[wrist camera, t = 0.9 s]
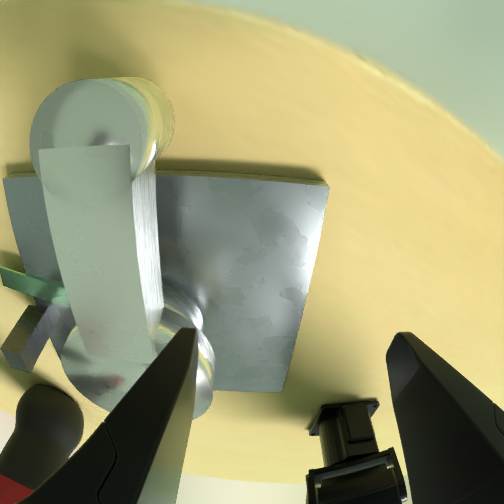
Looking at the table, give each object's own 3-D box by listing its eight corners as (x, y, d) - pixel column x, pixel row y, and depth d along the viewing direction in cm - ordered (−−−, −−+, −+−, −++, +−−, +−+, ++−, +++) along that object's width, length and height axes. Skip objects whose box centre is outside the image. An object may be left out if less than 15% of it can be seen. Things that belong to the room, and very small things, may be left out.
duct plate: (280, 383, 26) (286, 442, 21) (43, 354, 25) (21, 401, 20) (325, 181, 17) (359, 230, 12) (-16, 175, 16) (-71, 212, 11)
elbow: (216, 380, 22) (212, 436, 18) (102, 366, 21) (84, 417, 17) (229, 75, 12) (222, 73, 8) (48, 87, 11) (-16, 100, 7)
